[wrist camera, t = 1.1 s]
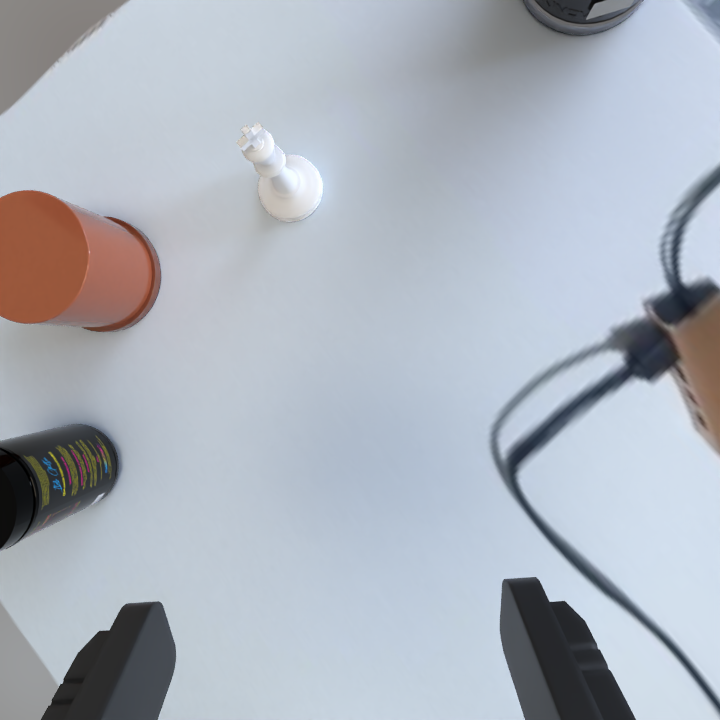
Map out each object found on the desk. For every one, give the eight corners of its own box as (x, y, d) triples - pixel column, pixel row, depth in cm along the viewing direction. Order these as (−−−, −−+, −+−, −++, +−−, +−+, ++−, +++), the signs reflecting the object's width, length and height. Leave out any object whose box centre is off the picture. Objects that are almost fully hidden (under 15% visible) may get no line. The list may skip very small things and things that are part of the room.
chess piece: (246, 187, 36) (185, 127, 26) (294, 143, 36) (250, 65, 26) (287, 235, 36) (240, 193, 26) (336, 191, 36) (307, 132, 26)
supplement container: (87, 404, 38) (-32, 426, 28) (140, 469, 38) (39, 515, 28) (30, 456, 39) (-107, 497, 29) (81, 520, 39) (-39, 584, 28)
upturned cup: (74, 204, 38) (-15, 166, 30) (175, 239, 37) (111, 210, 29) (41, 310, 38) (-55, 301, 30) (140, 347, 38) (68, 348, 30)
